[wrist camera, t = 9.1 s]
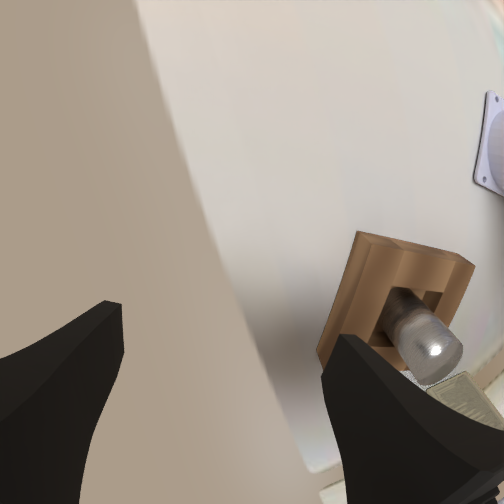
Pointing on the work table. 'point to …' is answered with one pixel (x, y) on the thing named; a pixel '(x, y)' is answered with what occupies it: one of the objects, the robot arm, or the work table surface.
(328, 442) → the work table surface
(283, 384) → the work table surface
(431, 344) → the pin
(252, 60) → the work table surface
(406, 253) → the socket block
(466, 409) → the skincare box
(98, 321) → the robot arm
